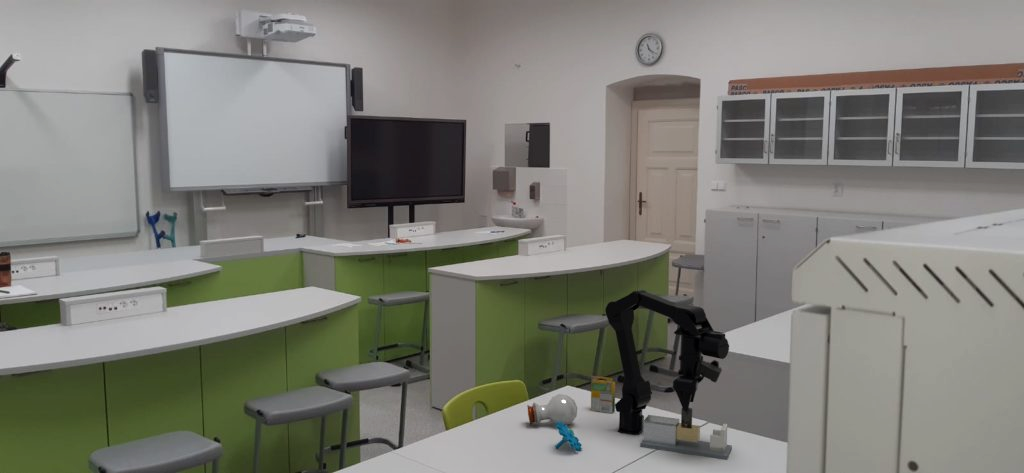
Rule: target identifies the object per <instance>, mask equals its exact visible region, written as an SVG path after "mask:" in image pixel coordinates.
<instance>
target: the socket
mask: <svg viewBox="0 0 1024 473" xmlns="http://www.w3.org/2000/svg"><path fill="white" fill-rule="evenodd" d="M709 442H710V452H717V453H724V452H725V449H726V447H727V445H728V424H727V423H723V425H722V427H721V429H715V428H713V429H712V434H710V435H709Z"/></svg>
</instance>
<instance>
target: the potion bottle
mask: <svg viewBox="0 0 1024 473" xmlns="http://www.w3.org/2000/svg"><path fill="white" fill-rule="evenodd" d="M576 403H577V402H576V401H575V399H573V398H572V397H571V396H569V395H568V394H562V393H561V394H560V393H559V394H555V396H552V397H551V399H550V400H549V402H548V403H547V404H544V405H539V404H538V403H536V402H533V403H532V405H531V406H530V405H529V404H527V416H528V420H529V425H530V426H532V425H533V423H534V424H535V425H536V424H537V425H536V426H538V425H539V424H540V423H541V422H542V421H546V420H549V421H551V422H552V423H554V424H555V423H557V422H560V421H561V422H562V423H563V424H564V425H567V426H568V425H569V424H572V423H573V422H574V420H575V419H576V418H577V416H578V406H577V404H576ZM564 425H563V426H564Z"/></svg>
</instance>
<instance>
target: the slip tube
mask: <svg viewBox="0 0 1024 473" xmlns="http://www.w3.org/2000/svg"><path fill="white" fill-rule="evenodd" d="M680 412H681V414H680V415H681V417H680V422H679V423H678V424H677V426H676V439H678V440H685V441H692V442H698V441H700V438H701V425H696V424H693V408H691V407H689V408H688V411H684V410H683V408H682V407H681V411H680Z"/></svg>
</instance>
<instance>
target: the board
mask: <svg viewBox="0 0 1024 473" xmlns="http://www.w3.org/2000/svg"><path fill="white" fill-rule="evenodd" d="M639 444H640V445H639V448H645V449H653V450H660V451H667V452H673V453H681V454H687V455H692V456H693V455H694V456H699V457H700V456H701V457H707V458H714V459H721V460H726V461H727V460H729V457H730V454H731V452H732V449H733V446H732V445H731V444H727V447H726V449H725V452H724V453H717V452H710V441H703V440H699V441H698V442H692V441H685V440H679V441H678V442H677V444H676V446H670V445H664V444H657V443H650V442H644V438H643V439H642V441H641V442H640V443H639Z"/></svg>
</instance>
